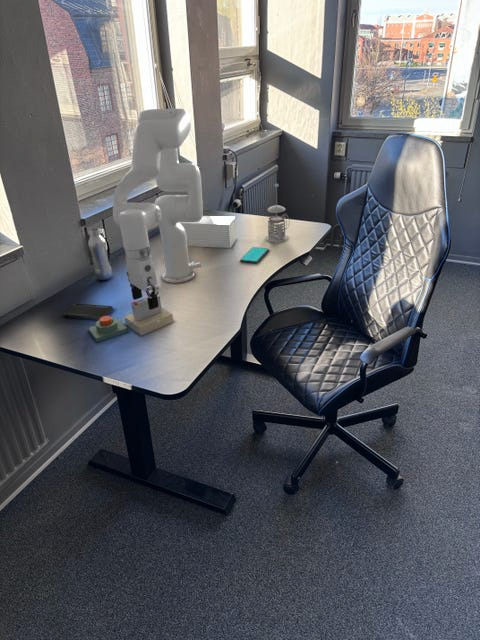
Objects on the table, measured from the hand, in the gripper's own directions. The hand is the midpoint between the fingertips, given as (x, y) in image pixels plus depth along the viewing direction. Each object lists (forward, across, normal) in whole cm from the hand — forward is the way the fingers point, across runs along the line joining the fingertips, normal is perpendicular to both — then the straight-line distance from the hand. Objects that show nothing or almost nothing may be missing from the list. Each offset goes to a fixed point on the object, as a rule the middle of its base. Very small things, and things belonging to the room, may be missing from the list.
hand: (145, 303), depth 146 cm
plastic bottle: (+7, +44, -6) cm, 45 cm away
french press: (+6, +24, -84) cm, 87 cm away
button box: (+8, +5, +12) cm, 15 cm away
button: (+4, +5, +12) cm, 14 cm away
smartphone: (+7, +17, -62) cm, 65 cm away
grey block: (+5, 0, 0) cm, 5 cm away
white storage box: (+6, +48, -57) cm, 74 cm away
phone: (+7, +21, +11) cm, 25 cm away
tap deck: (+8, 0, 0) cm, 8 cm away
